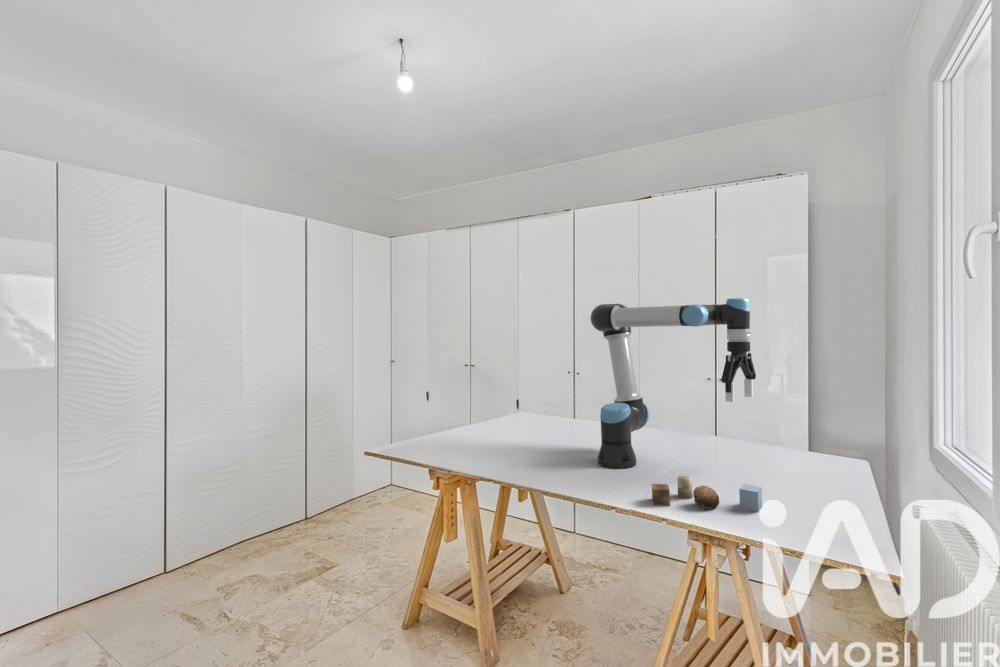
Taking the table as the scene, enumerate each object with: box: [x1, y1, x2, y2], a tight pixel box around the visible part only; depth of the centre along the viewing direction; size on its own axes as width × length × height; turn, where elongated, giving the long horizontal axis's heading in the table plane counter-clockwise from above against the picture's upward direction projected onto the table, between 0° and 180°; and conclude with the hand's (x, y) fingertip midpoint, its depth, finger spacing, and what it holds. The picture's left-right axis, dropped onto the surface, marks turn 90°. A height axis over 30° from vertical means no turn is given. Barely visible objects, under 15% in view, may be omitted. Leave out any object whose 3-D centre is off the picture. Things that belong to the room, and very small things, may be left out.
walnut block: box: [651, 483, 671, 507], centre depth 152 cm, size 5×5×5 cm
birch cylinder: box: [676, 475, 694, 500], centre depth 156 cm, size 4×4×6 cm
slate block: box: [738, 483, 763, 513], centre depth 145 cm, size 5×5×6 cm
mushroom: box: [692, 484, 720, 510], centre depth 148 cm, size 8×8×6 cm
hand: (739, 399), depth 176 cm, fingers open, 13 cm apart
